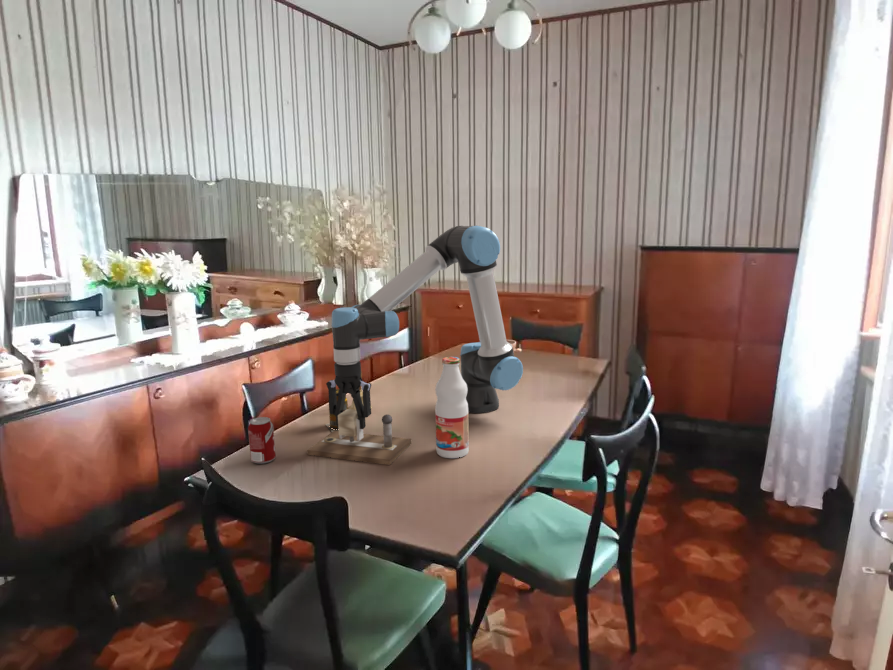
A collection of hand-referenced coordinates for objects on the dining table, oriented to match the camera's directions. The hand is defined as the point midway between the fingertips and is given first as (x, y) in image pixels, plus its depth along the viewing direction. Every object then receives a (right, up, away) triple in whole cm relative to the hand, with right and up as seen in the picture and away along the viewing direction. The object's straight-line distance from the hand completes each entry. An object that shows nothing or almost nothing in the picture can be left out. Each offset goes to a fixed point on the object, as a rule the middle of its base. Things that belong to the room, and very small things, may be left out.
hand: (351, 437), depth 174 cm
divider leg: (0, -1, 0) cm, 1 cm away
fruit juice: (+30, -4, -4) cm, 30 cm away
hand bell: (-3, +4, +37) cm, 37 cm away
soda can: (-24, -5, -7) cm, 25 cm away
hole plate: (+3, -3, 0) cm, 4 cm away
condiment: (-7, 0, +18) cm, 20 cm away
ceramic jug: (+51, +14, +78) cm, 94 cm away
